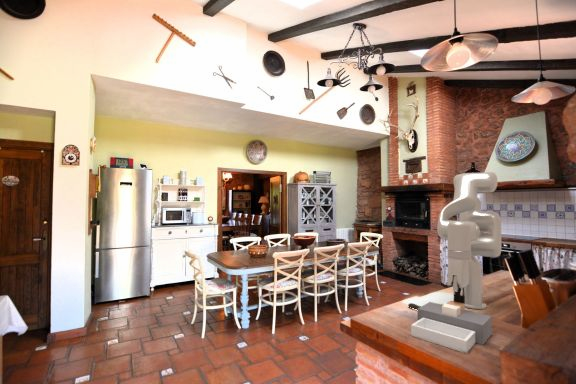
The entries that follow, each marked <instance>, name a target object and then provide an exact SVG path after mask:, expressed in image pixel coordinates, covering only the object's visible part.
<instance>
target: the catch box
mask: <svg viewBox="0 0 576 384" xmlns="http://www.w3.org/2000/svg"><path fill="white" fill-rule="evenodd" d="M410 336H411V337H414V338H417V339H420V340H423V341H425V342H429V343H432V344H435V345H438V346H441V347H444V348H448V349H449V350H450V349H451V350H453V351H457V352H460V353H463V354H468V353H469V351H470V350H471V349H472V348H473V347H474V345H475V344H477V343H476V336H475V331H471V330H467V329H464V328H460V327H456V326H453V325H449V324H445V323H442V322H438V321H434V320H430V319H427V318H421V319H420V320H418V319H417V321H415V322H413V323H412V324H411V325H410Z"/></svg>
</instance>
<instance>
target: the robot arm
mask: <svg viewBox="0 0 576 384" xmlns="http://www.w3.org/2000/svg"><path fill="white" fill-rule="evenodd" d="M452 181H453V187H454V193H453V200H452V201H450V202H449V203H447V204H446V205H445V206H444V207H443V208H442V209H441V210H440V212H439V215H438V219H437V221H438V222H437V226H436V227H437V231H436V232H437V235H438V236H439V237H440V239H443V240H447V241H446V242H447V243H446V244H447V252H446V253H447V255H446V256H447V259H448V264H447V278H446V279H447V280H446V282H447V283H446V285H447V287H452V292H453V300H452V301H454V302H459V303H464V304H465V309H472V310H485V309H487V304H486V303H485V302H483V270H482V269H483V267H482V263H481V262H480V261H479V259H478V258H477V257H488V258H489V257H490V258H498V257H500V256H501V253H502V220H501V217H500V216H501V215H499V213H497V212H496V211H488V210H487V211H486V210H485V211H483V210H482V201H481V199H480V198H478V193H493V192H495V191H496V190H497V187H498V183H499V181H498V176H497V174H496V173H495V172H493V171H487V172H485V171H483V172H463V173H460V174H456V175H455V176H454V178H453V180H452ZM456 215H459V217H458V218H459V220H452V219H451V220H449V219H450V218H452V217H454V216H456ZM482 233H487V234H482ZM476 256H477V257H476Z"/></svg>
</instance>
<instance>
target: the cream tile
mask: <svg viewBox="0 0 576 384" xmlns="http://www.w3.org/2000/svg"><path fill="white" fill-rule="evenodd" d="M442 305H443V306H442V314H445V315H449V316H453V317H458V316H459V315H460V314H461V307H460V306H455V305H451V304H447V303H445V304H442Z"/></svg>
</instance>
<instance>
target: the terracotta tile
mask: <svg viewBox="0 0 576 384" xmlns="http://www.w3.org/2000/svg"><path fill="white" fill-rule="evenodd" d="M446 304H451V305H455V306H460V307H461V313H463V312H464V311H465V310H466V307H465V304H464V303H459V302H454V301H453V300H450V301H448V302H447V303H446Z"/></svg>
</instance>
